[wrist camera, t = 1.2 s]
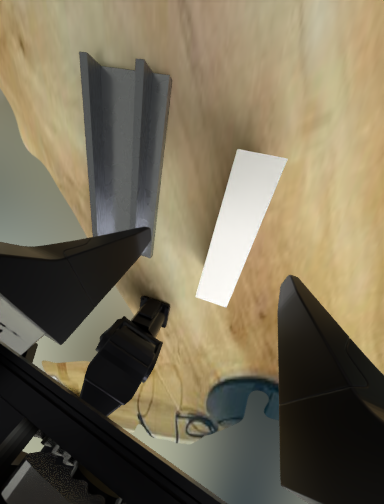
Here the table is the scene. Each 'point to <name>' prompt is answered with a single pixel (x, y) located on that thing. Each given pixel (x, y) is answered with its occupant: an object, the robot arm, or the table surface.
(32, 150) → the table surface
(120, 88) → the track
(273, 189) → the door panel
